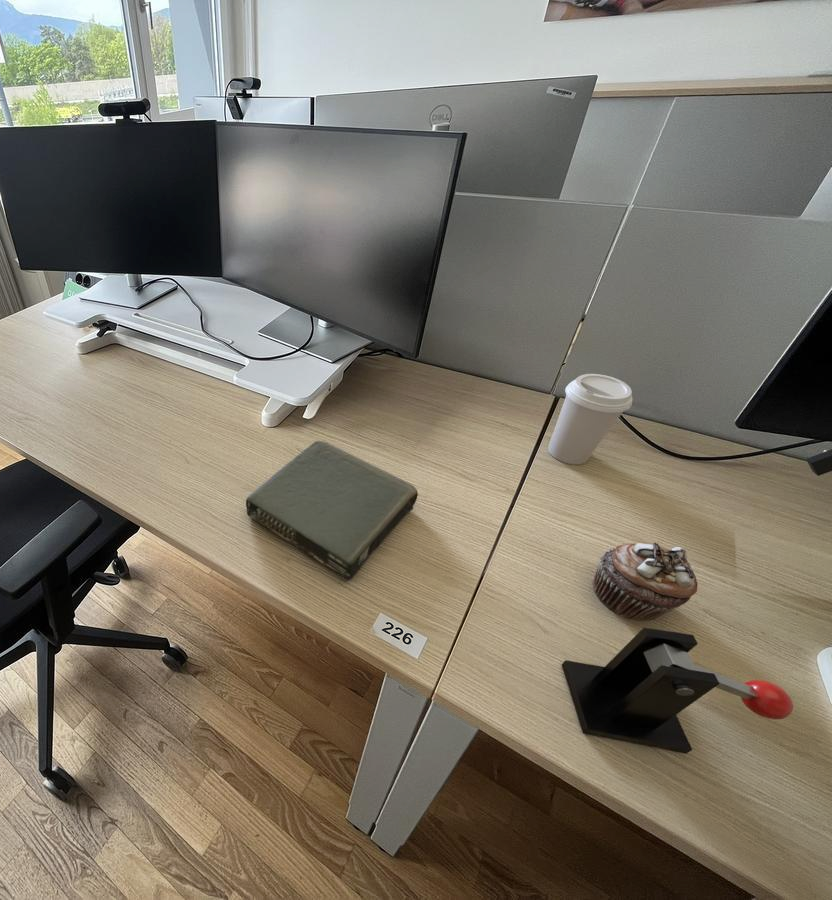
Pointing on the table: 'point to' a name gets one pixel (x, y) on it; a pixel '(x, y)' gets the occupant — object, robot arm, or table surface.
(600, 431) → the coffee cup
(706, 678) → the switch bracket
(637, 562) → the cupcake
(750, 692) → the switch lever
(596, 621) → the table surface
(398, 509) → the network switch
